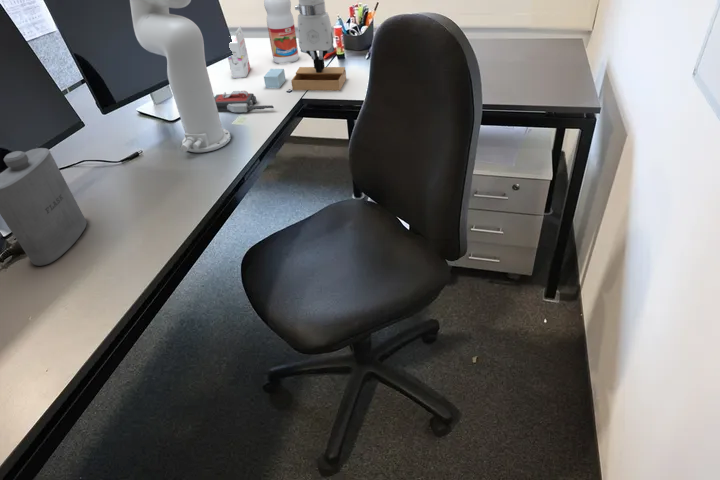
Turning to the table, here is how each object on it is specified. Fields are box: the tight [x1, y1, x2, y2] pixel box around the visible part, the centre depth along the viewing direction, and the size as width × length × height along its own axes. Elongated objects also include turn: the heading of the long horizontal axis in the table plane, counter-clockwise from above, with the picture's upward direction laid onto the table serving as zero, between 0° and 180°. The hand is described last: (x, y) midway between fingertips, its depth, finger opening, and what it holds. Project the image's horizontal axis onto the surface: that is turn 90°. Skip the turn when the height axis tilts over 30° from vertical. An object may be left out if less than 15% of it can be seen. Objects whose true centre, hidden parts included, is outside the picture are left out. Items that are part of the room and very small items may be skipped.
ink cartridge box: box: [227, 25, 251, 79], centre depth 165 cm, size 9×5×15 cm, turn 179°
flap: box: [295, 66, 346, 75], centre depth 156 cm, size 5×15×1 cm, turn 79°
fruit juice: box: [263, 0, 299, 64], centre depth 169 cm, size 9×9×28 cm
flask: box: [0, 147, 88, 267], centre depth 92 cm, size 15×6×20 cm, turn 175°
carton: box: [290, 69, 347, 91], centre depth 155 cm, size 10×15×3 cm, turn 79°
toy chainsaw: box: [214, 90, 274, 113], centre depth 145 cm, size 9×4×20 cm
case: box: [263, 68, 287, 89], centre depth 158 cm, size 7×5×4 cm, turn 169°
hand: (319, 70), depth 155 cm, fingers closed
